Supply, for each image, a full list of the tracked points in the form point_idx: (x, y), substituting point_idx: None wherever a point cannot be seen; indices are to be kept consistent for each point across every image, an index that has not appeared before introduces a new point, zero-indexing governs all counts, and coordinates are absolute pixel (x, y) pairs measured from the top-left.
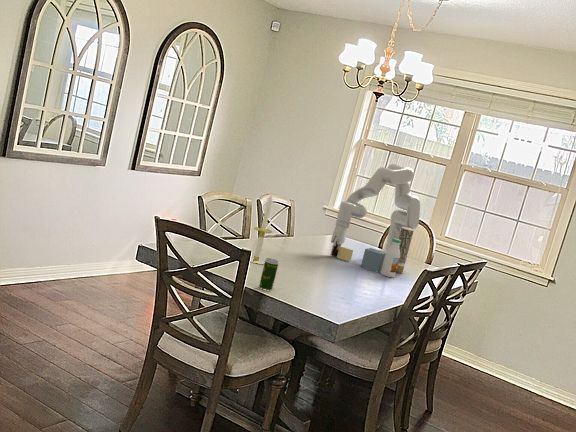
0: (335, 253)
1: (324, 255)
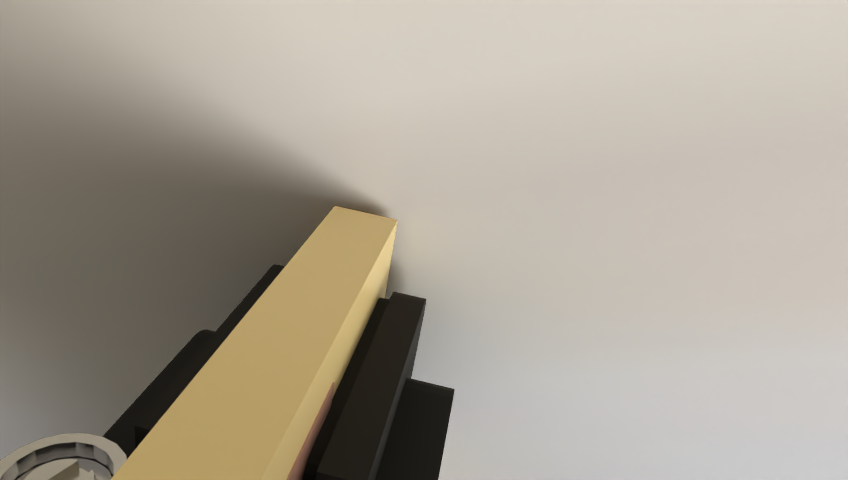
0: None
1: (60, 46)
